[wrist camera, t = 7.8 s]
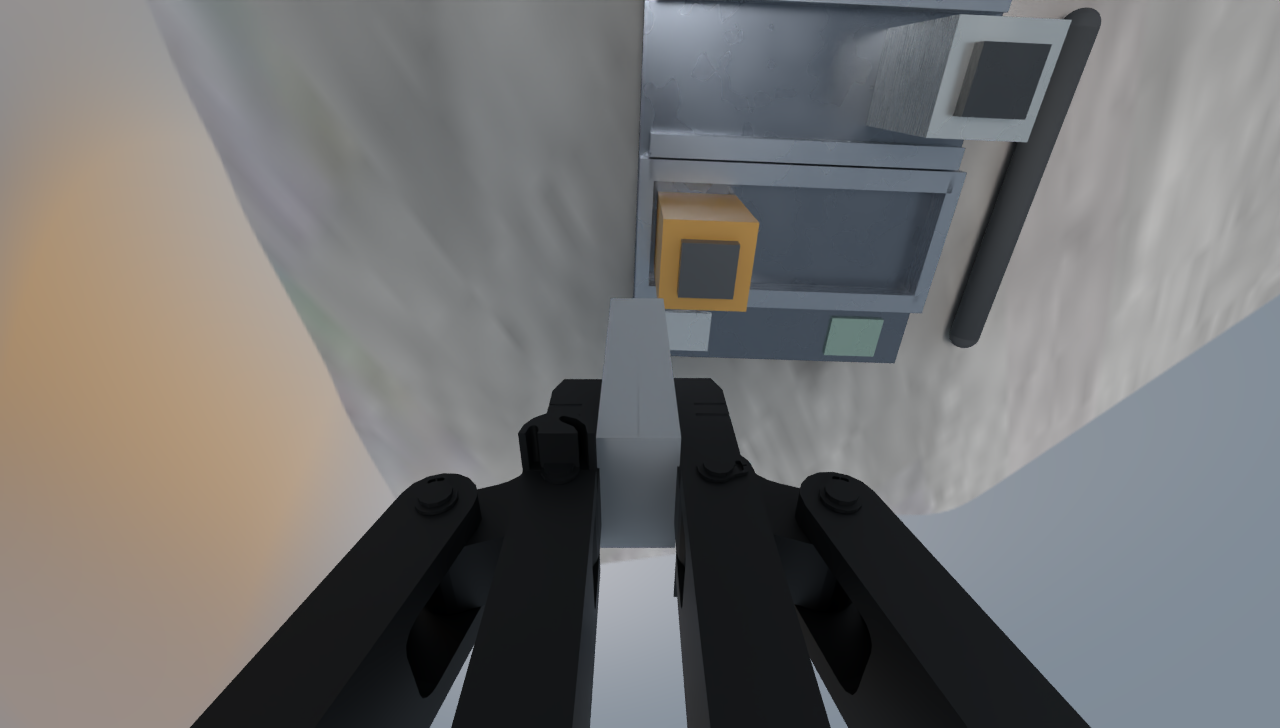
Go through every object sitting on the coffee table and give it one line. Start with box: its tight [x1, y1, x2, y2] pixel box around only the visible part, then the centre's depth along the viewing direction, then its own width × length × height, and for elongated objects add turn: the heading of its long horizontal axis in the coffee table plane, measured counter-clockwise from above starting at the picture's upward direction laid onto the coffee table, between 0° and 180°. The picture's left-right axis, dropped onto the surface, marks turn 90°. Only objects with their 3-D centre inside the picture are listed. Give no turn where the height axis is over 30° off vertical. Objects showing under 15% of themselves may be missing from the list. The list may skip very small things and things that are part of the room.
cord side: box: [949, 8, 1101, 348], centre depth 29 cm, size 18×2×2 cm, turn 178°
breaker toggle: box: [654, 192, 759, 312], centre depth 25 cm, size 4×4×7 cm
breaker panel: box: [633, 0, 1072, 363], centre depth 25 cm, size 19×16×9 cm
